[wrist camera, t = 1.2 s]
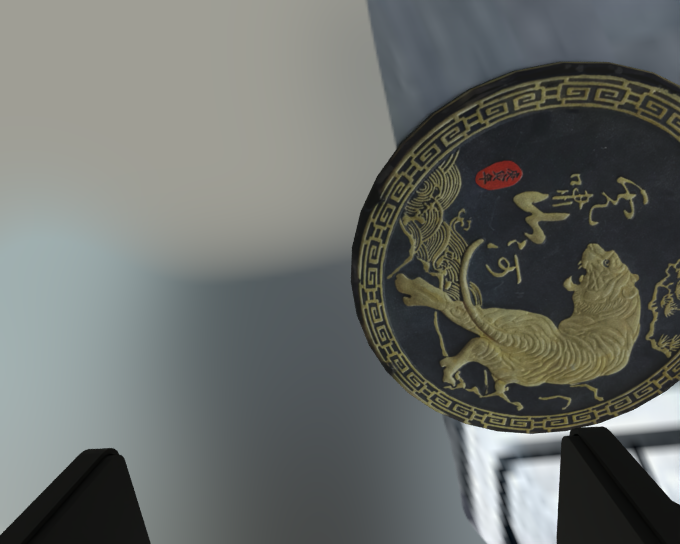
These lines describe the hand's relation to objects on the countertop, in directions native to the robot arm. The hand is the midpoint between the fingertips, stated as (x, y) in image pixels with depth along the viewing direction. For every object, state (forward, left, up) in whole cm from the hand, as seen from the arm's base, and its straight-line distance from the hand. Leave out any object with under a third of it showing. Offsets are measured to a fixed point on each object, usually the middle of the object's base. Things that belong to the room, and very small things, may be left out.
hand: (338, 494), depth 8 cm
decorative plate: (+4, +14, -25) cm, 29 cm away
